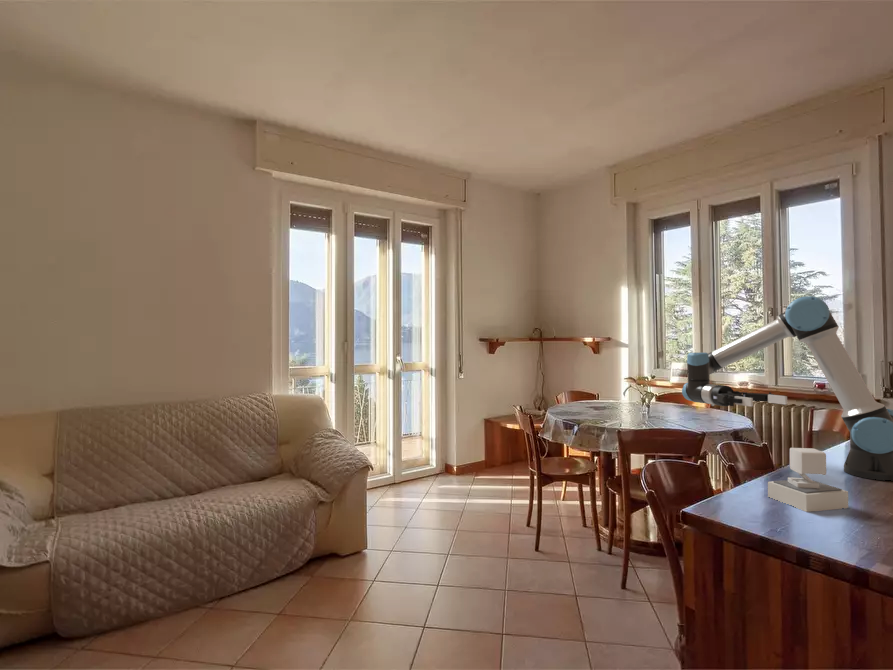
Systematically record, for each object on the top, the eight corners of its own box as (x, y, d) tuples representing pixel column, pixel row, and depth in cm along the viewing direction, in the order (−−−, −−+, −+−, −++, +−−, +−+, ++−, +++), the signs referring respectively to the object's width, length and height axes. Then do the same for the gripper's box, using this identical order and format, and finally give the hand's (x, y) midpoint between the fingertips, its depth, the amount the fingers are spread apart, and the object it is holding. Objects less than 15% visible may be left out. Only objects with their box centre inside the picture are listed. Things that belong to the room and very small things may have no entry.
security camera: (826, 489, 131) (826, 453, 131) (798, 487, 132) (798, 452, 133) (813, 482, 138) (812, 447, 138) (786, 481, 139) (786, 447, 139)
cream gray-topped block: (807, 494, 142) (807, 477, 142) (848, 508, 131) (848, 489, 131) (767, 497, 140) (767, 480, 140) (806, 511, 128) (806, 493, 128)
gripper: (746, 403, 178) (800, 411, 157) (689, 406, 172) (737, 414, 151) (746, 383, 178) (799, 388, 157) (689, 386, 172) (736, 391, 152)
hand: (769, 401), depth 154 cm, fingers open, 13 cm apart
